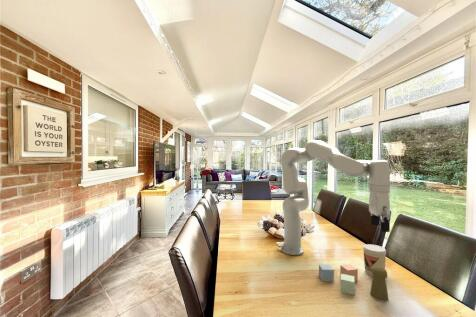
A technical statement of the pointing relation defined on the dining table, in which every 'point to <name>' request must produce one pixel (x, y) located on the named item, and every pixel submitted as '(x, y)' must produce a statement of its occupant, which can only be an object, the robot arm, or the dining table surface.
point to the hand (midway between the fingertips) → (379, 228)
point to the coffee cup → (373, 257)
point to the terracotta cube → (349, 271)
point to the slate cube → (326, 272)
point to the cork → (379, 284)
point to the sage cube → (347, 284)
